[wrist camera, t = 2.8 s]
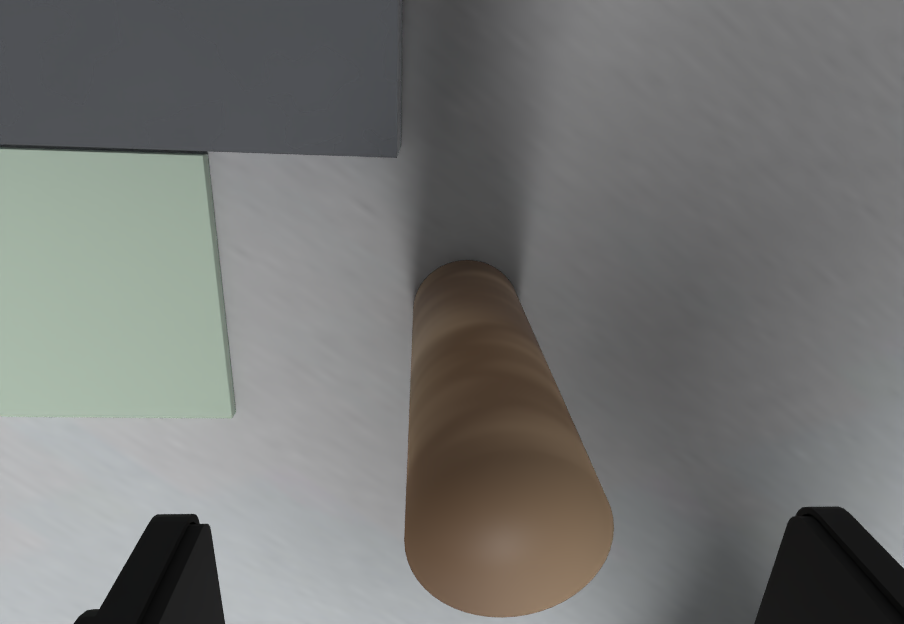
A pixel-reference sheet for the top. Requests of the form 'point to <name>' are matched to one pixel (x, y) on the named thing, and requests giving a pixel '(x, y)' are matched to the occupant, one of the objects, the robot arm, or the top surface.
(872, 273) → the top surface
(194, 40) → the dark grey socket block
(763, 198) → the top surface
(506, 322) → the tan rounded cylinder
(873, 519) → the top surface
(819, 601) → the robot arm
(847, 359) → the top surface
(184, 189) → the set down mat
